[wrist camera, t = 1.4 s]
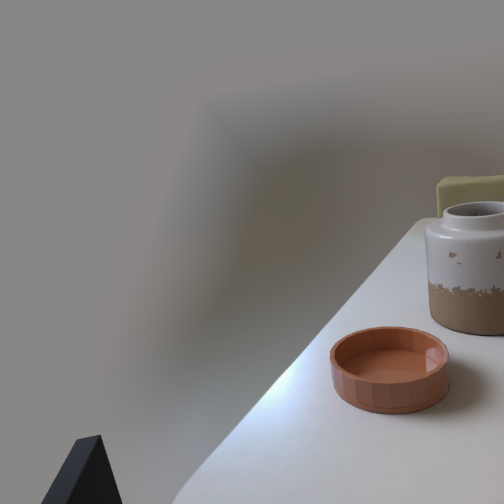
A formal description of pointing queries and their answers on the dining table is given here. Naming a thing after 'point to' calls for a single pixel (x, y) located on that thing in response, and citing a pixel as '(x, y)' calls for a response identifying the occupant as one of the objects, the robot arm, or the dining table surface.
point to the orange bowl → (390, 369)
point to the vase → (467, 268)
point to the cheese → (468, 191)
